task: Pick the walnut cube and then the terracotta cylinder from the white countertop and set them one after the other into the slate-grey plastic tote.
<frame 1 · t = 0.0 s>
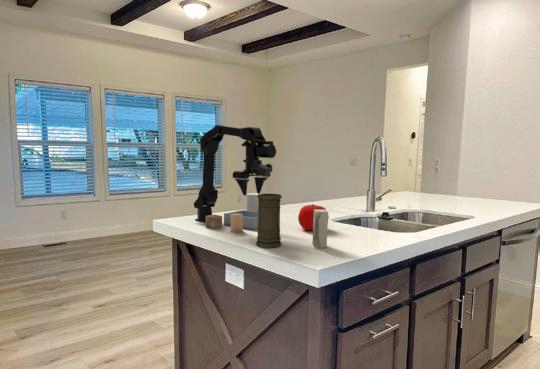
hand: (251, 194, 160), 15 cm above the countertop, fingers open, 9 cm apart
cube: (213, 227, 163), on the countertop
box: (319, 246, 134), on the countertop
cylinder: (236, 231, 155), on the countertop
tote: (248, 224, 169), on the countertop
container: (268, 245, 135), on the countertop
tomato: (312, 230, 162), on the countertop
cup: (254, 218, 185), on the countertop
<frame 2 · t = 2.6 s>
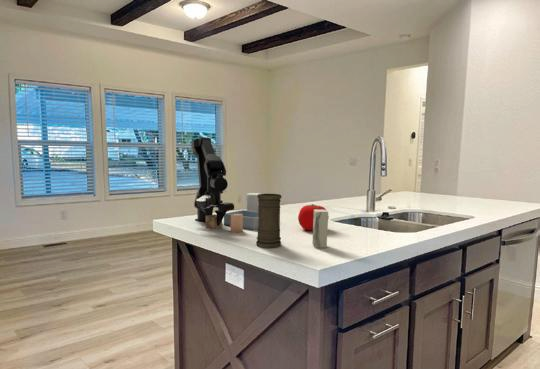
hand: (213, 224, 163), 1 cm above the countertop, fingers closed on cube, 5 cm apart
cube: (213, 227, 163), on the countertop, touching gripper
everything else where it was.
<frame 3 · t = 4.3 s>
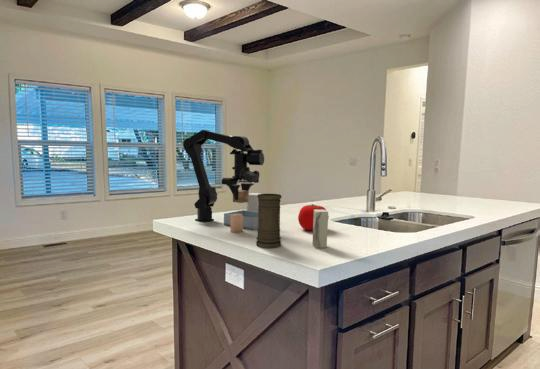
hand: (240, 199, 170), 11 cm above the countertop, fingers closed on cube, 5 cm apart
cube: (240, 201, 170), point 10 cm above the countertop, touching gripper
everything else where it was.
when the fingers open (4 cm above the countertop, at t = 6.0 s): cube drops 2 cm, resting on tote.
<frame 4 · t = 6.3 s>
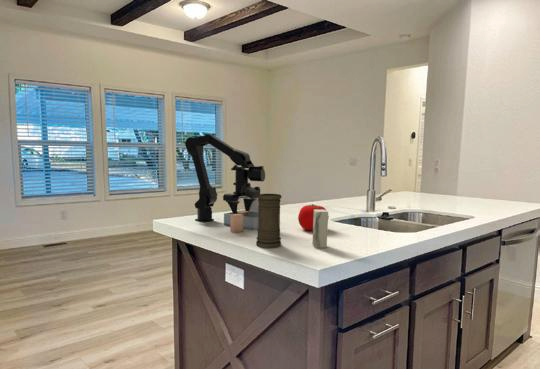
hand: (241, 215, 171), 4 cm above the countertop, fingers open, 8 cm apart
cube: (241, 222, 171), point 1 cm above the countertop, touching tote
everything else where it was.
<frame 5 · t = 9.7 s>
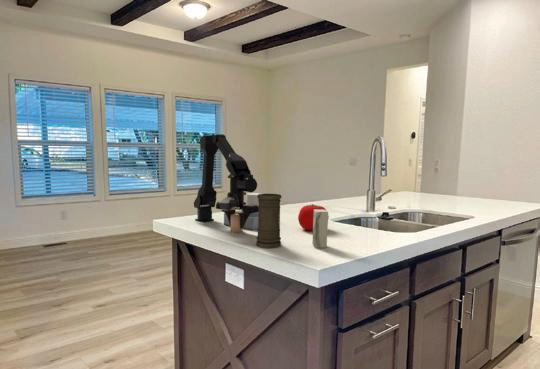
hand: (236, 227, 155), 2 cm above the countertop, fingers closed on cylinder, 5 cm apart
cylinder: (236, 231, 155), on the countertop, touching gripper
everything else where it was.
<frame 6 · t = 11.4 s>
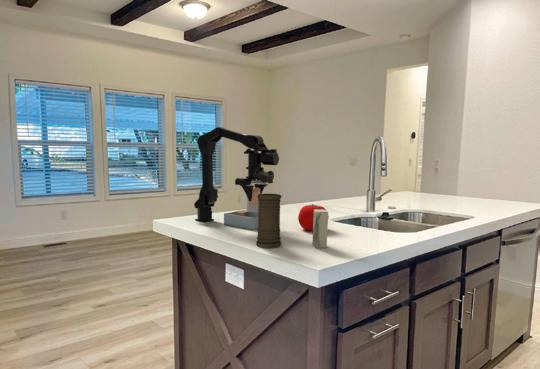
hand: (254, 200, 165), 11 cm above the countertop, fingers closed on cylinder, 5 cm apart
cylinder: (254, 204, 165), point 10 cm above the countertop, touching gripper
everything else where it was.
when the fingers open (4 cm above the countertop, at t = 13.3 s): cylinder drops 2 cm, resting on tote.
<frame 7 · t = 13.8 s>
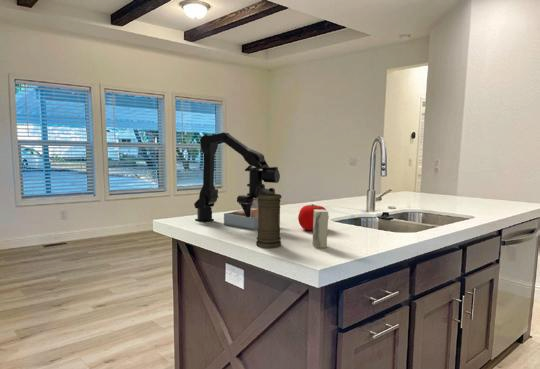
hand: (255, 217, 166), 4 cm above the countertop, fingers open, 9 cm apart
cylinder: (255, 224, 167), point 1 cm above the countertop, touching tote
everything else where it was.
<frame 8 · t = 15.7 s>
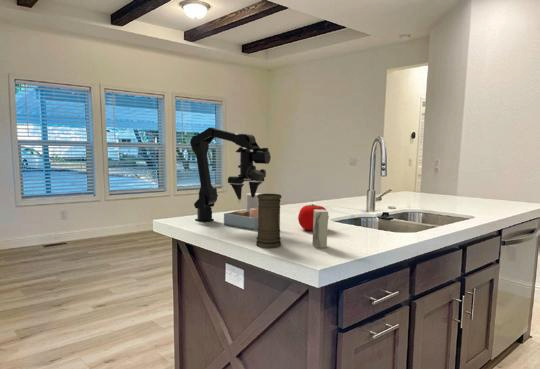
hand: (246, 198, 167), 12 cm above the countertop, fingers open, 9 cm apart
nothing on the countertop moved.
at the end: cube inside the target area on the tote (4.0 cm from its centre), point 0.6 cm above the tote's base; cylinder inside the target area on the tote (4.0 cm from its centre), point 0.6 cm above the tote's base; the gripper is holding nothing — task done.
